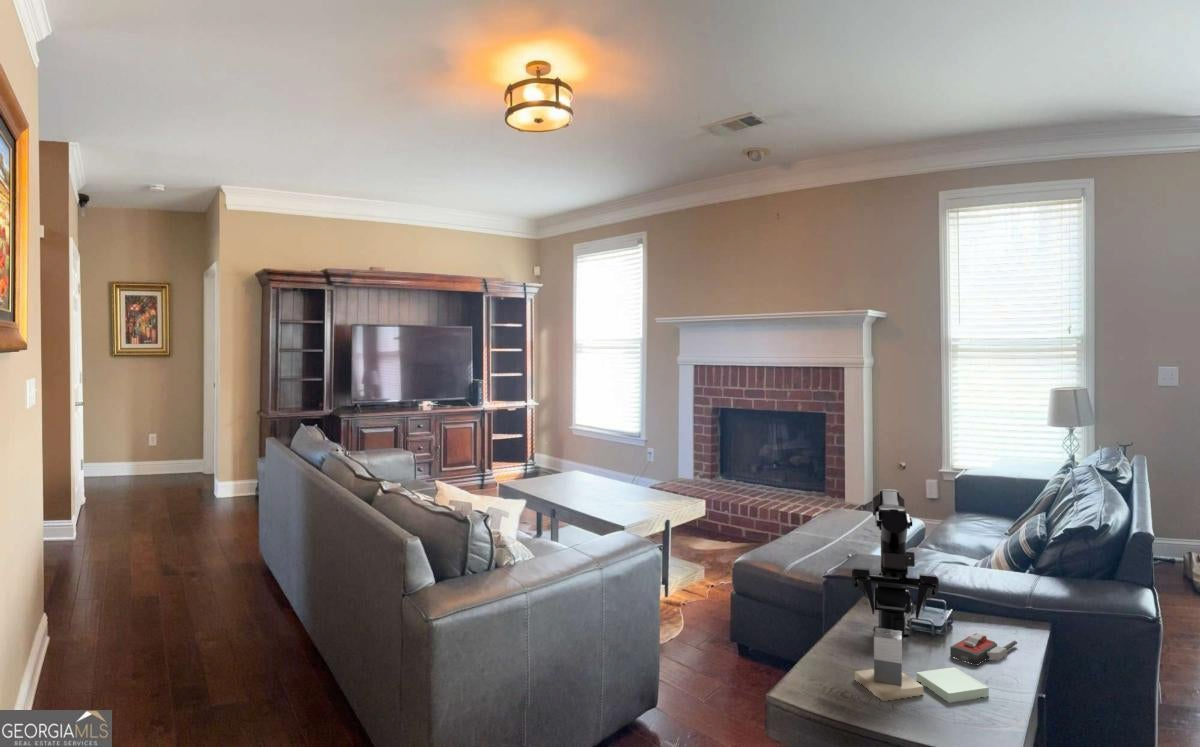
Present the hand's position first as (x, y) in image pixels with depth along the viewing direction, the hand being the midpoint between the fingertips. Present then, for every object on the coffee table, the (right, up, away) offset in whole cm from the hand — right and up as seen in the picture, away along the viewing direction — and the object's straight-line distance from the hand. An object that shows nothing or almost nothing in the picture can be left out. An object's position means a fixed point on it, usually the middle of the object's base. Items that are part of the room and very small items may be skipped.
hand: (894, 615), depth 157 cm
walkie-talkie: (+27, -14, +11) cm, 32 cm away
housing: (-4, -12, -6) cm, 14 cm away
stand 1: (-4, -14, -6) cm, 16 cm away
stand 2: (+9, -14, -7) cm, 18 cm away
